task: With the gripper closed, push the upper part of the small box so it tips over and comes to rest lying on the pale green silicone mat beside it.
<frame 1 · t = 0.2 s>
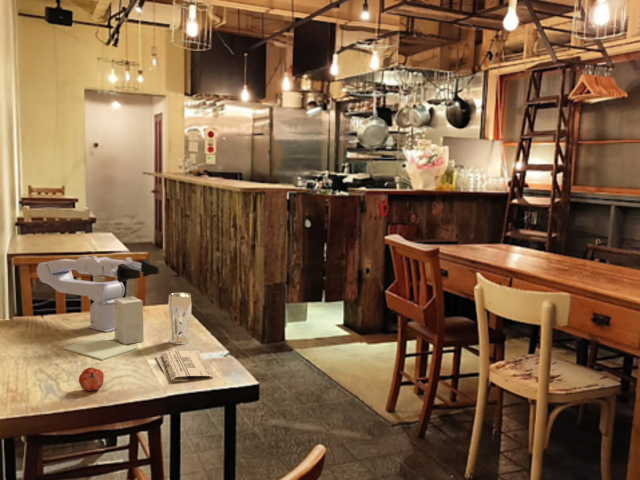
hand: (148, 272, 181), 21 cm above the table, fingers open, 7 cm apart
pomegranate: (91, 390, 141), on the table
newspaper: (182, 370, 158), on the table
small box: (129, 340, 181), on the table
mat: (99, 348, 171), on the table
beer glass: (180, 342, 180), on the table
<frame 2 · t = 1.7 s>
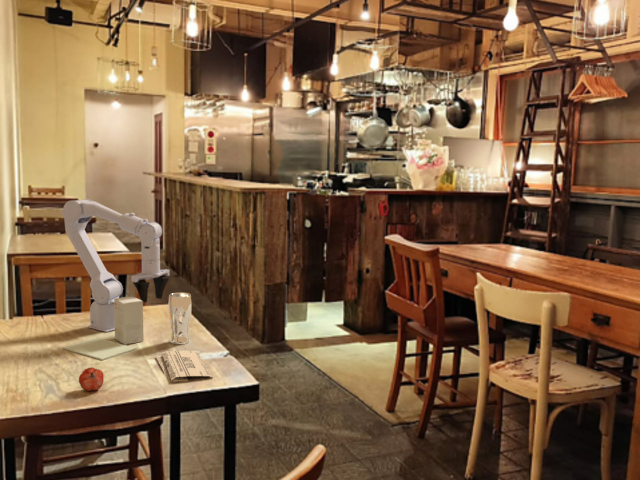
hand: (151, 300, 190), 10 cm above the table, fingers open, 6 cm apart
nothing on the table moved.
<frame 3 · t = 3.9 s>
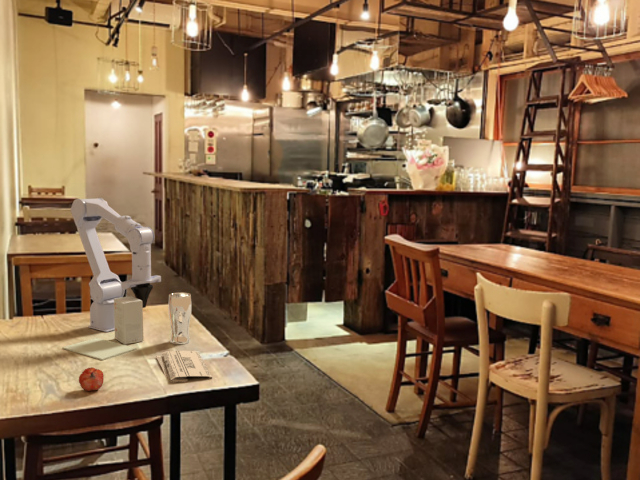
hand: (142, 307, 184), 9 cm above the table, fingers closed
small box: (129, 340, 181), on the table, touching gripper
everything else where it was.
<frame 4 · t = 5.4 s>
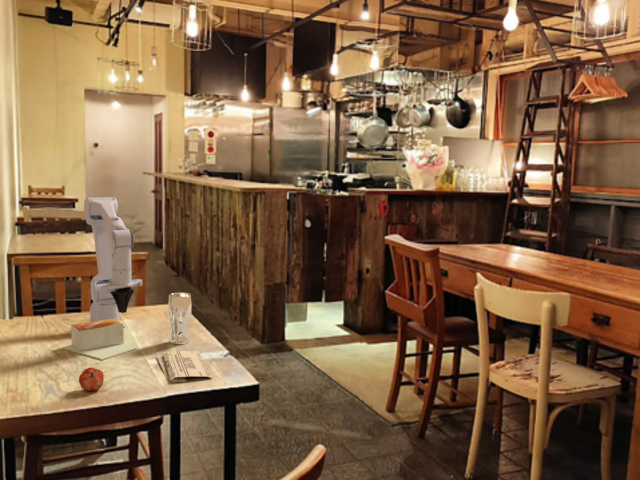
hand: (122, 312, 178), 9 cm above the table, fingers closed
small box: (119, 330, 178), point 4 cm above the table, touching mat
everything else where it was.
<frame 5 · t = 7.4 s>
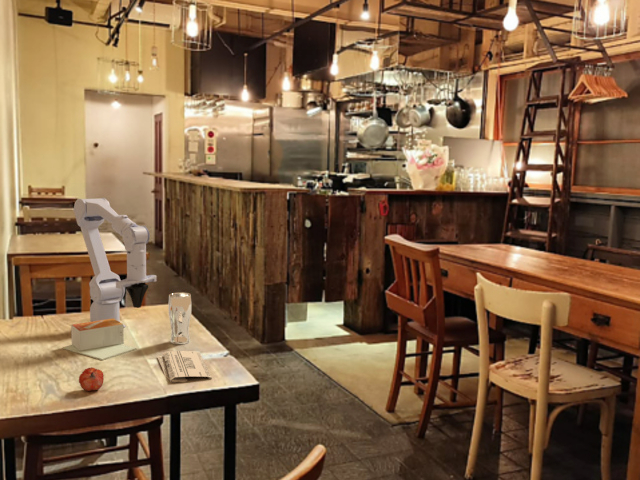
hand: (137, 307, 182), 10 cm above the table, fingers closed
nothing on the table moved.
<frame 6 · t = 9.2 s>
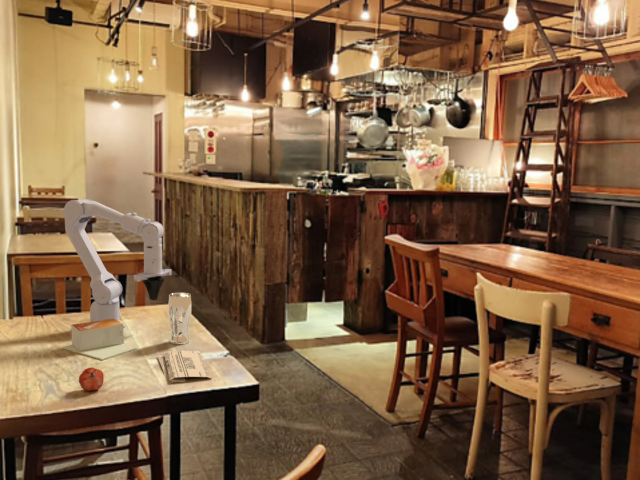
hand: (153, 299, 191), 10 cm above the table, fingers closed
nothing on the table moved.
at the end: small box tilted 90°; small box inside the target area (7.8 cm from its centre), point 3.6 cm above the table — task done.
